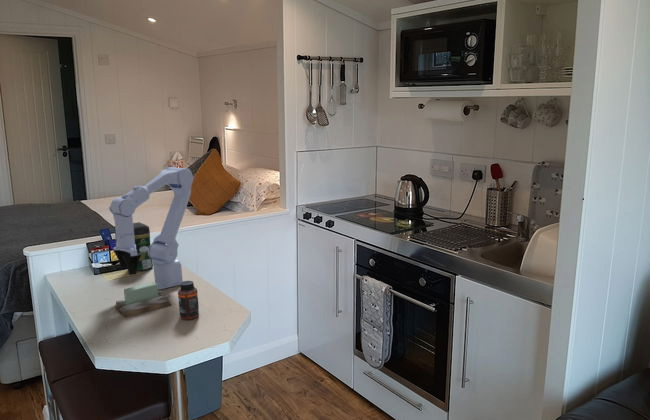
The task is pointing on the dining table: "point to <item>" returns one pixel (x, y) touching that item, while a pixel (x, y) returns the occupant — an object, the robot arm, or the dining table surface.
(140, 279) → the dining table surface
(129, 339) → the dining table surface
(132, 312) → the brown shallow piece
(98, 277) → the dining table surface
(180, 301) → the supplement bottle
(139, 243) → the coffee jar
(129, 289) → the pale green block
